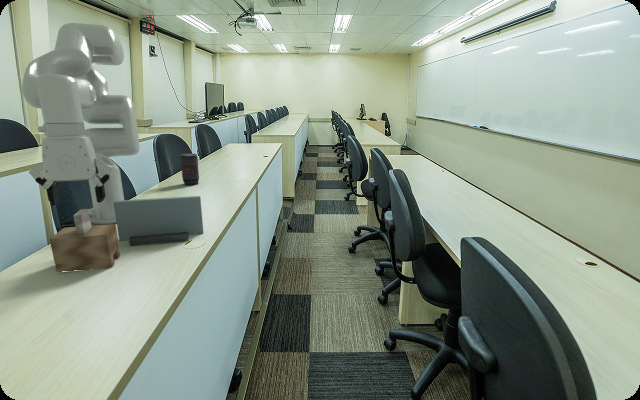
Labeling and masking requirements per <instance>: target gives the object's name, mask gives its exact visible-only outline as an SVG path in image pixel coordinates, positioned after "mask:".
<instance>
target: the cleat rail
mask: <svg viewBox="0 0 640 400" xmlns="http://www.w3.org/2000/svg"><path fill="white" fill-rule="evenodd" d="M189 240H190V235H189V233H188V232H180V233H168V234H155V235H143V236H131V237H130V238H129V240H128V243H129V247H136V246H145V245H159V244H168V243H171V244H172V243H179V242H189Z"/></svg>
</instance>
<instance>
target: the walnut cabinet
mask: <svg viewBox="0 0 640 400" xmlns="http://www.w3.org/2000/svg"><path fill="white" fill-rule="evenodd" d="M88 209H89V208H83V209H79V210H78V211H77V212H76V213H74V215H73V216H72V217H73V220H74V221H73V222H74V225H75V226H73V227H72V226H69V227H63V228H61V229H59V231H58V232H57V233H55V234H54V235H53V236H52V237H50V238H49V244H50V247H51V252H52V258H53V261H54V265H55V269H56V273H57V272H62V271H74V270H84V271H91V270H90V269H94V270H101V269H112V268H113V267H114V266H115V260H117V259H119V258H120V257H121V251H120V244H119V235H118V229H117V223H113V224H94V225H92V223H91V222H90V218H91V216H90V215H89V210H88ZM114 259H115V260H114ZM74 272H75V271H74Z"/></svg>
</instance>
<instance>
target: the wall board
mask: <svg viewBox="0 0 640 400" xmlns="http://www.w3.org/2000/svg"><path fill="white" fill-rule="evenodd" d="M113 204H114V210H115V216H116V223H115V224H116V230H117V236H118V242H119V241H121V242H122V241H129V238H130V237H131V236H143V235H155V234H168V233H180V232H188V233H189V236H191V235H201V234H202V235H203V234H204V222H203V213H202V200H201V195H195V196H191V195H190V196H175V197H160V198H158V197H157V198H143V199H124V200H121V201H114V202H113Z"/></svg>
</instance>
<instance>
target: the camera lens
mask: <svg viewBox="0 0 640 400" xmlns="http://www.w3.org/2000/svg"><path fill="white" fill-rule="evenodd" d="M179 160H180V166H181V178H182V181H183V183H184V185H185V186H195V185H199V180H200V172H199V157H198V154H196V153H181V154H180V158H179Z"/></svg>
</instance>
